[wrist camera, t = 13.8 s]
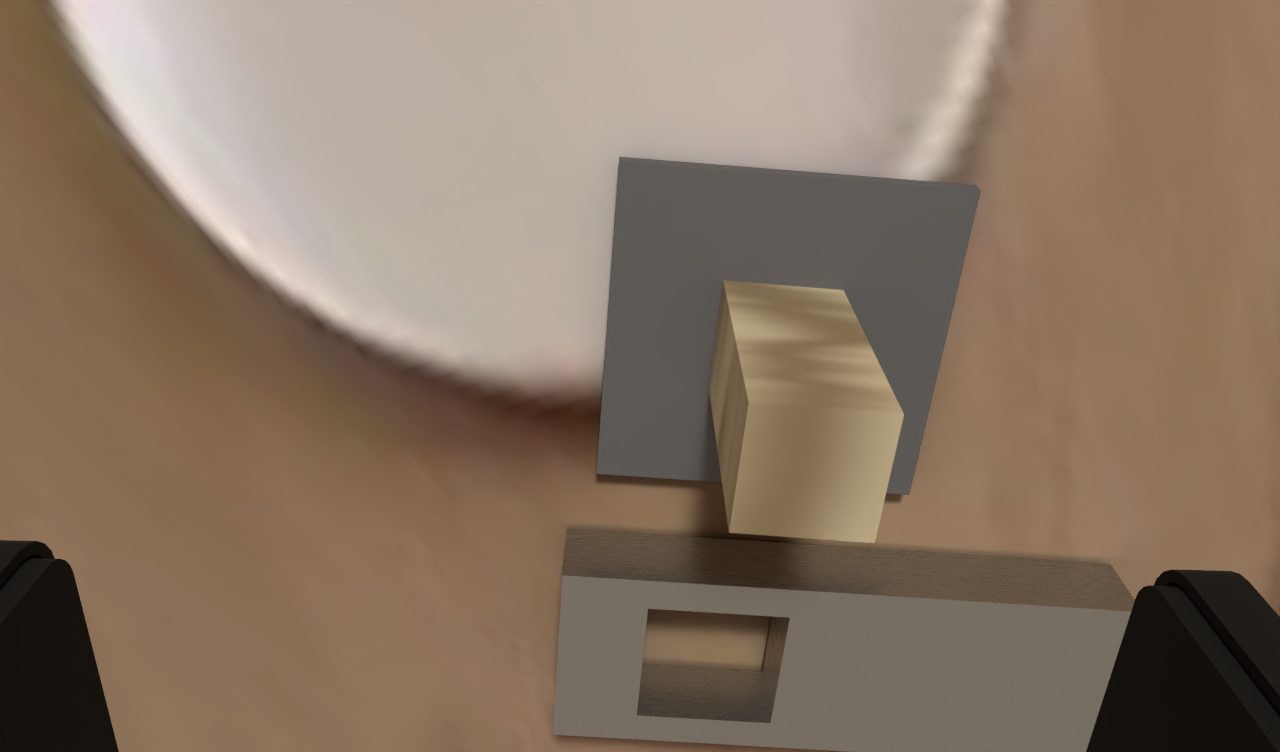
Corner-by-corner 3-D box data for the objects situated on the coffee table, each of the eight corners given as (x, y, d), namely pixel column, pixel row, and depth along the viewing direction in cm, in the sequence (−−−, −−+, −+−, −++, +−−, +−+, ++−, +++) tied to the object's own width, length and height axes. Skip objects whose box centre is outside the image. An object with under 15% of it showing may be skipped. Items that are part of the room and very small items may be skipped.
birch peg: (843, 290, 36) (904, 414, 27) (823, 397, 37) (874, 542, 29) (723, 280, 35) (748, 402, 27) (708, 388, 37) (728, 532, 29)
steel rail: (1110, 564, 42) (1142, 612, 39) (1058, 711, 45) (1085, 765, 42) (567, 528, 41) (562, 575, 38) (558, 681, 44) (552, 734, 42)
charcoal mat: (975, 185, 35) (980, 190, 34) (905, 486, 40) (909, 495, 39) (619, 157, 34) (619, 161, 34) (597, 465, 39) (596, 473, 39)
